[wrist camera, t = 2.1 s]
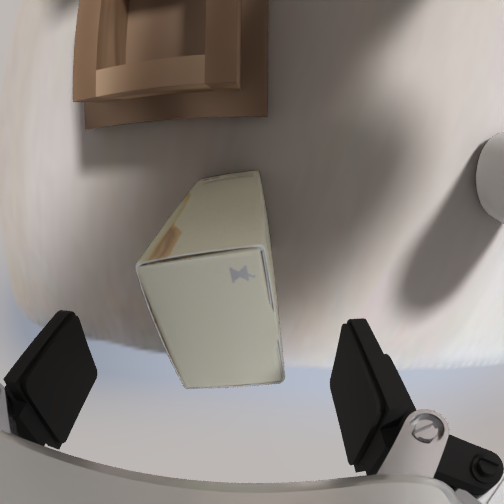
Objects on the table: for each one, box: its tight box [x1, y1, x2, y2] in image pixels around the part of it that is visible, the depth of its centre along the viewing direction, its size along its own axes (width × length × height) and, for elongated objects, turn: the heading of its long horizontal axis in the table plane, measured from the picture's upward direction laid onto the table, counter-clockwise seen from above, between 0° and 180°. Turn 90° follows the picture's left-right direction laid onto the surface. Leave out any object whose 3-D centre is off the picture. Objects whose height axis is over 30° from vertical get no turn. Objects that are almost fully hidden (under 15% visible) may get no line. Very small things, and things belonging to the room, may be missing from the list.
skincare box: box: [135, 171, 285, 389], centre depth 16 cm, size 6×4×12 cm
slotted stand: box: [73, 0, 268, 129], centre depth 13 cm, size 12×14×6 cm
